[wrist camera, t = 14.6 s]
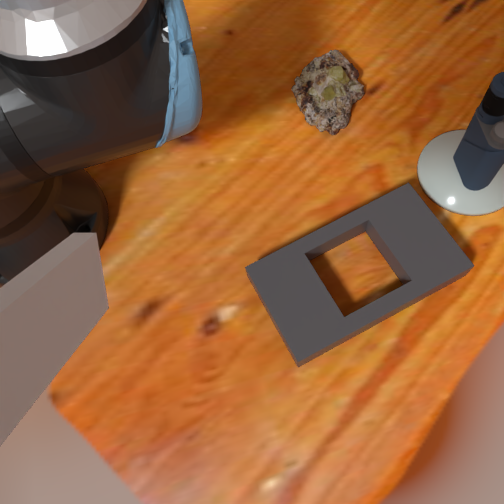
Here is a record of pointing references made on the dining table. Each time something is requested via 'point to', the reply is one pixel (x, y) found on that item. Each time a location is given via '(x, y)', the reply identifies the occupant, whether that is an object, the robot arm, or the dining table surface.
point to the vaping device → (483, 140)
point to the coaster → (455, 179)
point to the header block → (390, 246)
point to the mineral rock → (328, 91)
